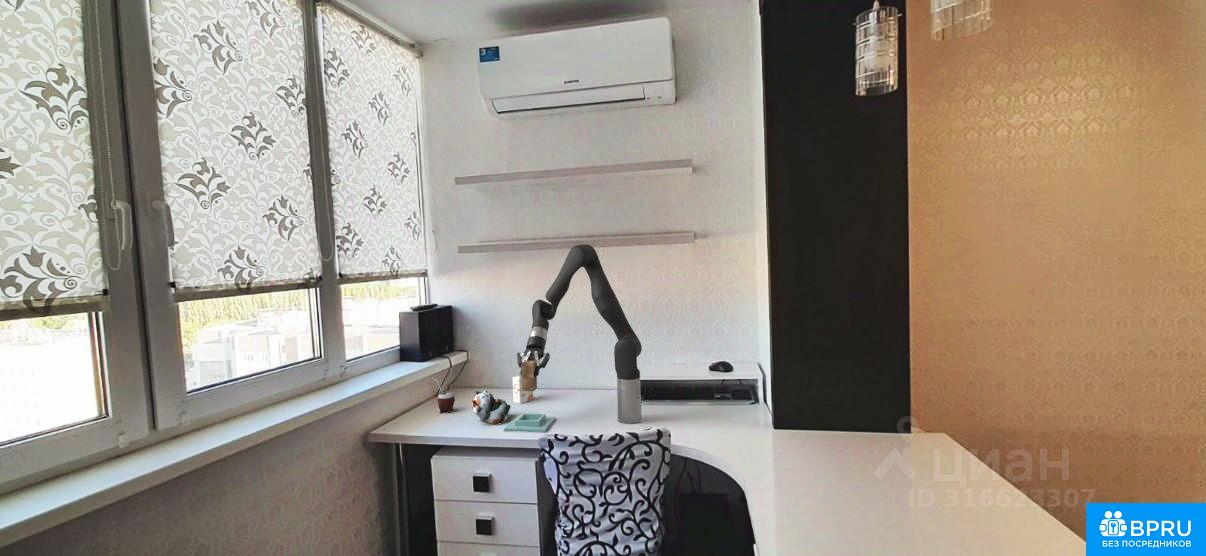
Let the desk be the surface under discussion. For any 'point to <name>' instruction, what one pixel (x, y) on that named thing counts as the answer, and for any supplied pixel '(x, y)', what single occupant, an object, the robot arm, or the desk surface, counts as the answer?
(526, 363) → the walnut block
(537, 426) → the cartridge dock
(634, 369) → the robot arm
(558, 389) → the desk surface
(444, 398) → the mate gourd
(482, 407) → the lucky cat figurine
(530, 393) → the ink cartridge box
